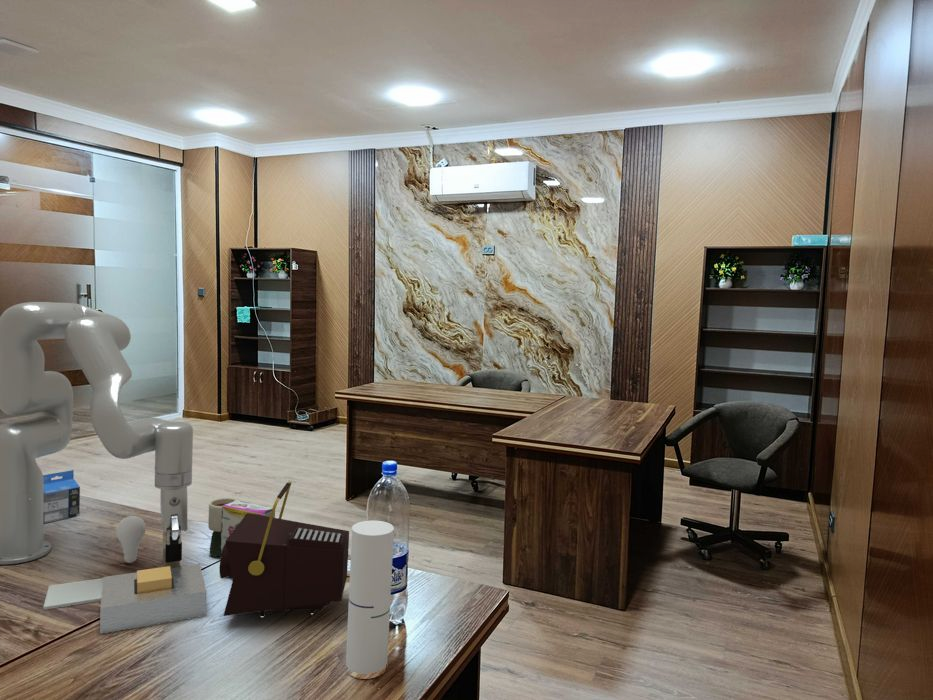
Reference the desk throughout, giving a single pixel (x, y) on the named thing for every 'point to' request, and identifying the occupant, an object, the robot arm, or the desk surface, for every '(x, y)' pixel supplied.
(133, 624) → the breaker box
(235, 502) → the candy bar box
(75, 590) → the mat
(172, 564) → the beige cylinder
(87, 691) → the desk surface
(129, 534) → the lightbulb
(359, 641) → the cylindrical container
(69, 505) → the ink cartridge box
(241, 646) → the desk surface
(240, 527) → the dark brown boxy piece
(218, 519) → the character mug
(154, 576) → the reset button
